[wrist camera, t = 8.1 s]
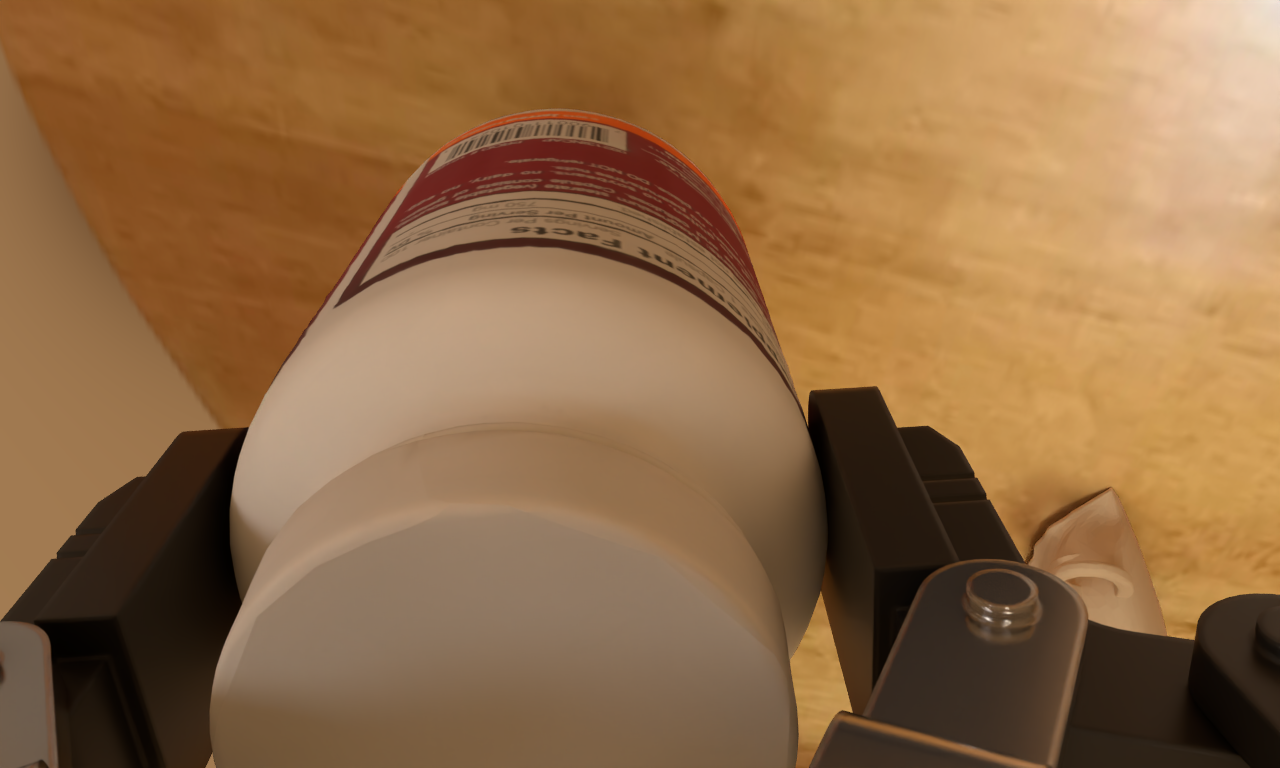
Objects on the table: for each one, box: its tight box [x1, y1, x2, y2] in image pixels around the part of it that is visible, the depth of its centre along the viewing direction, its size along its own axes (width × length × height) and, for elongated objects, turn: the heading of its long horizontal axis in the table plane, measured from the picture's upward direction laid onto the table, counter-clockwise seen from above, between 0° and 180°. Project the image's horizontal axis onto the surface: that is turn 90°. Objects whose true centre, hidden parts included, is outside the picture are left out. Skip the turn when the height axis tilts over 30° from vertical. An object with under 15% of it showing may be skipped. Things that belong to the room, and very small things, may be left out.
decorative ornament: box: [1028, 487, 1167, 636], centre depth 38 cm, size 4×8×5 cm, turn 23°
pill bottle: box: [210, 109, 828, 768], centre depth 14 cm, size 6×6×11 cm
